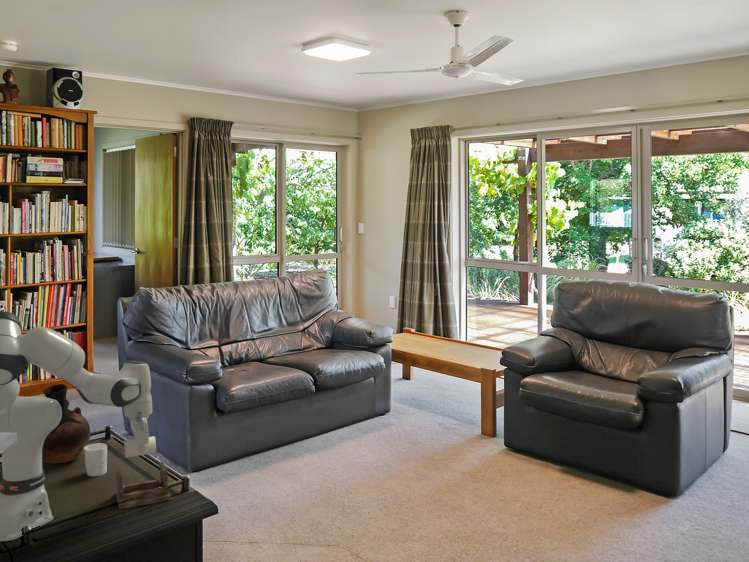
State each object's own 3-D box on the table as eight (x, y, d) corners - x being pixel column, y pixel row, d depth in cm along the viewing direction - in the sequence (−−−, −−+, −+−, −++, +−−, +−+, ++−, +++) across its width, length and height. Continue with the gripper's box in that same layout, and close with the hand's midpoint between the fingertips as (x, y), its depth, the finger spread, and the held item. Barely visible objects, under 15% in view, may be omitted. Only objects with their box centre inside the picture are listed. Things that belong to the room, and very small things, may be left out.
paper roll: (125, 460, 224) (125, 443, 224) (124, 454, 229) (123, 438, 229) (157, 455, 228) (156, 439, 228) (154, 449, 233) (154, 434, 233)
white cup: (112, 469, 255) (110, 443, 254) (101, 477, 248) (100, 450, 247) (92, 468, 256) (90, 442, 255) (81, 477, 248) (79, 450, 247)
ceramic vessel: (84, 448, 277) (80, 376, 274) (98, 461, 264) (94, 384, 261) (27, 461, 264) (22, 385, 261) (39, 475, 251) (34, 395, 247)
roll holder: (119, 509, 221) (117, 481, 220) (115, 494, 233) (114, 467, 232) (170, 500, 228) (169, 472, 227) (164, 485, 240) (163, 459, 239)
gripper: (152, 416, 219) (154, 457, 221) (144, 399, 237) (146, 438, 239) (131, 418, 216) (133, 461, 218) (125, 401, 235) (127, 441, 236)
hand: (140, 448), depth 229 cm, fingers closed on paper roll, 5 cm apart
